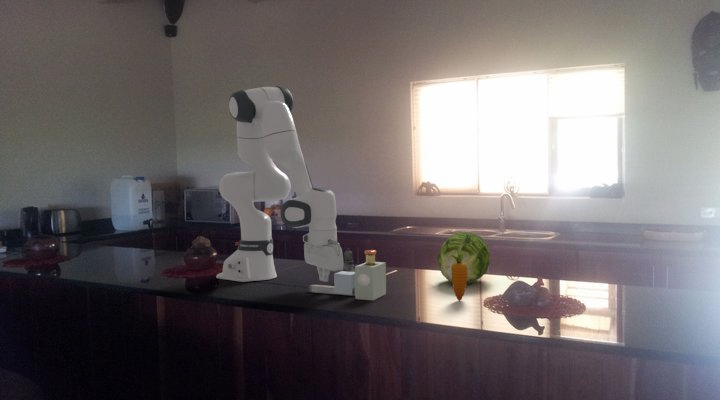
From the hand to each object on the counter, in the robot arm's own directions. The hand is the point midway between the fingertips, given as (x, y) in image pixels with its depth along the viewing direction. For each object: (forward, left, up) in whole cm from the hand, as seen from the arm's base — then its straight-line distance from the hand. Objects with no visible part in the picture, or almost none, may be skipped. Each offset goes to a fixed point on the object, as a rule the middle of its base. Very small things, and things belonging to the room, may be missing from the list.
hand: (323, 280), depth 192 cm
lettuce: (+38, +30, -4) cm, 48 cm away
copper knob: (+17, 0, +5) cm, 18 cm away
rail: (+5, 0, -4) cm, 6 cm away
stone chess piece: (0, +19, -4) cm, 19 cm away
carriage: (+8, 0, -4) cm, 9 cm away
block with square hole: (+17, 0, -4) cm, 17 cm away
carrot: (+44, +4, -4) cm, 44 cm away
